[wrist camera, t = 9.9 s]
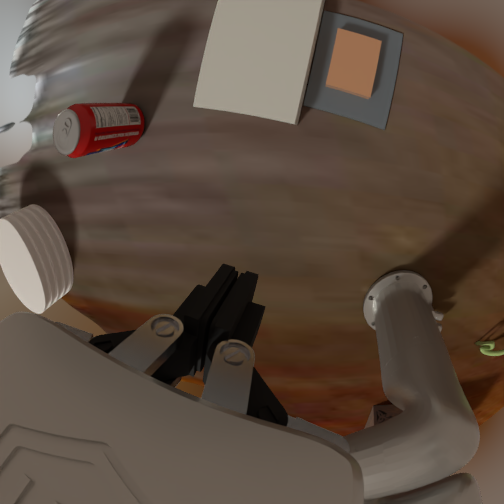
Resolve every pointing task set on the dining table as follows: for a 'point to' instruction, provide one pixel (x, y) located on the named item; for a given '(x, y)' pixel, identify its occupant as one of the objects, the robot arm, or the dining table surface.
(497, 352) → the figurine
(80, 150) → the soda can
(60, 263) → the plate stack
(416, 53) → the dining table surface
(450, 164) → the dining table surface
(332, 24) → the mat
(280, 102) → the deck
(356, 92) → the tile
